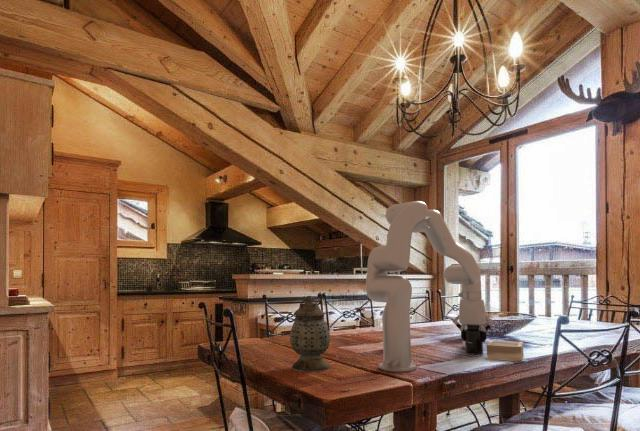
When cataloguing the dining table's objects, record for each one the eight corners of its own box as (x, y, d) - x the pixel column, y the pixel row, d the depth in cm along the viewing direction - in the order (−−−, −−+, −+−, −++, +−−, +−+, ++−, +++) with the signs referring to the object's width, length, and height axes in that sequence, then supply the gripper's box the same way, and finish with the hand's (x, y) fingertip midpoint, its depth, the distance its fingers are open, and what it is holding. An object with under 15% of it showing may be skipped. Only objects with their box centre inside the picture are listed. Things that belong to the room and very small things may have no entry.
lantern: (339, 367, 166) (337, 295, 168) (309, 374, 156) (308, 297, 158) (311, 362, 176) (310, 294, 178) (281, 368, 166) (281, 296, 168)
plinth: (521, 361, 173) (521, 346, 174) (487, 358, 178) (486, 344, 179) (523, 355, 184) (522, 341, 184) (490, 353, 189) (490, 340, 189)
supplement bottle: (465, 354, 187) (463, 323, 189) (465, 351, 194) (464, 321, 195) (483, 354, 186) (482, 323, 187) (483, 351, 192) (481, 321, 193)
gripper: (448, 296, 193) (450, 341, 191) (493, 297, 185) (495, 343, 183) (451, 295, 199) (453, 338, 197) (495, 295, 192) (497, 341, 190)
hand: (473, 340), depth 190 cm, fingers closed on supplement bottle, 6 cm apart
